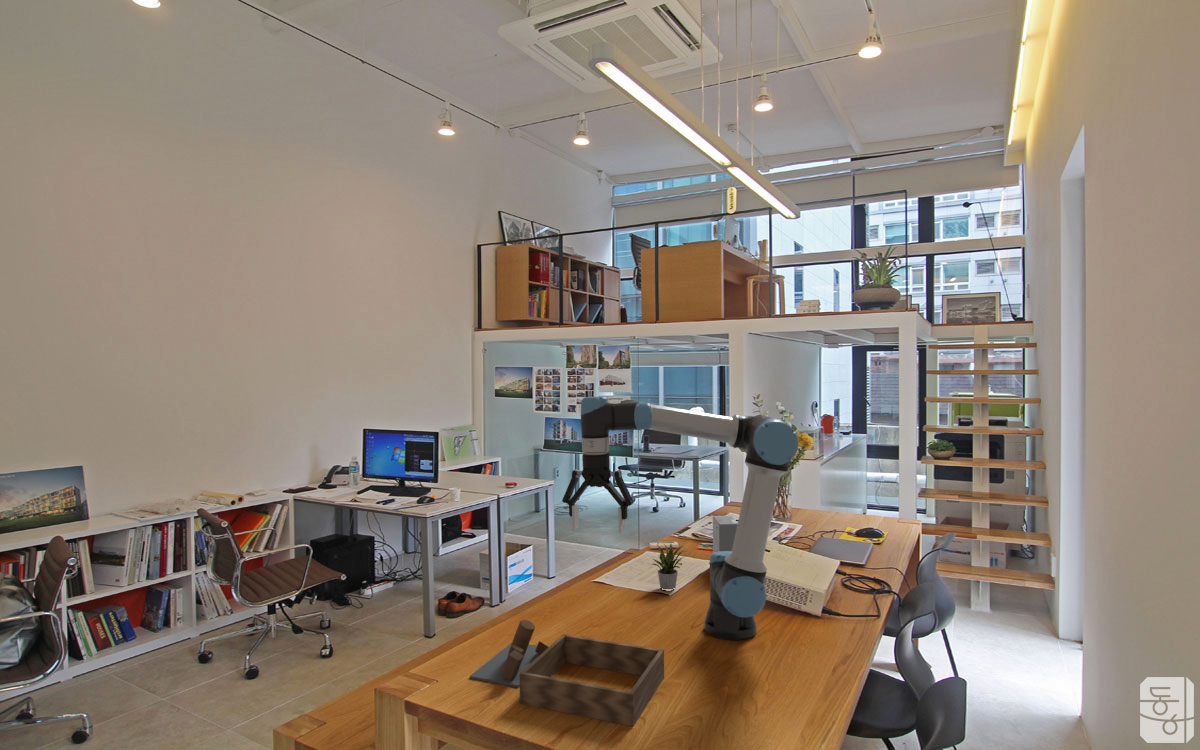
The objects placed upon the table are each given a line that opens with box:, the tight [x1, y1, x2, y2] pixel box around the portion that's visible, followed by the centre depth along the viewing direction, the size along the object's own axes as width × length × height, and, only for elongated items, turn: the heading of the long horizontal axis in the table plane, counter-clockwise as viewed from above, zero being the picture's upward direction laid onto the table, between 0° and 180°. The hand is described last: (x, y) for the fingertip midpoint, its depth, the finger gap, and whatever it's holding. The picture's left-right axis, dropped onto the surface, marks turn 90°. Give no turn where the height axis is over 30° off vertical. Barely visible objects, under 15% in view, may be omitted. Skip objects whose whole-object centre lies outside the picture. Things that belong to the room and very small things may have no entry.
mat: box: [469, 642, 540, 689], centre depth 173 cm, size 14×22×1 cm, turn 158°
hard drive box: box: [712, 515, 738, 553], centre depth 249 cm, size 16×8×20 cm, turn 179°
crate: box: [519, 633, 665, 727], centre depth 158 cm, size 28×24×7 cm
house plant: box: [648, 542, 687, 589], centre depth 230 cm, size 14×14×16 cm
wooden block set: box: [501, 619, 549, 681], centre depth 170 cm, size 18×9×10 cm, turn 158°
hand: (598, 529), depth 179 cm, fingers open, 13 cm apart
